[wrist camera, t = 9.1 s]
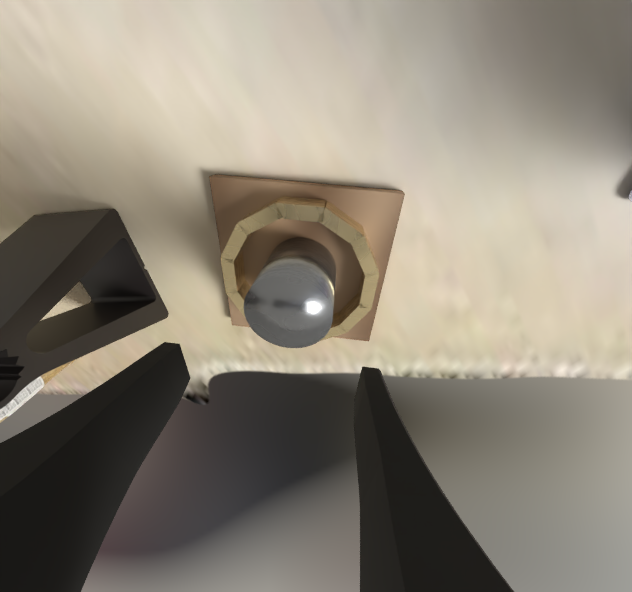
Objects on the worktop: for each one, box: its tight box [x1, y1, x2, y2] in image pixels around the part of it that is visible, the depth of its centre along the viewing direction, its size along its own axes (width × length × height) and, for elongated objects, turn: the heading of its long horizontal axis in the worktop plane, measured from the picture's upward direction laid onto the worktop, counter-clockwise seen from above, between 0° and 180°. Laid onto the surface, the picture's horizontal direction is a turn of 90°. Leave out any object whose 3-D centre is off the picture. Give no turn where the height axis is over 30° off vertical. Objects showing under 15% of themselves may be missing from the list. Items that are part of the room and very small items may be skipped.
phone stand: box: [0, 209, 168, 409], centre depth 15 cm, size 9×6×12 cm, turn 5°
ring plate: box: [209, 174, 405, 341], centre depth 17 cm, size 11×11×2 cm
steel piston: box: [244, 237, 336, 348], centre depth 15 cm, size 5×5×5 cm
